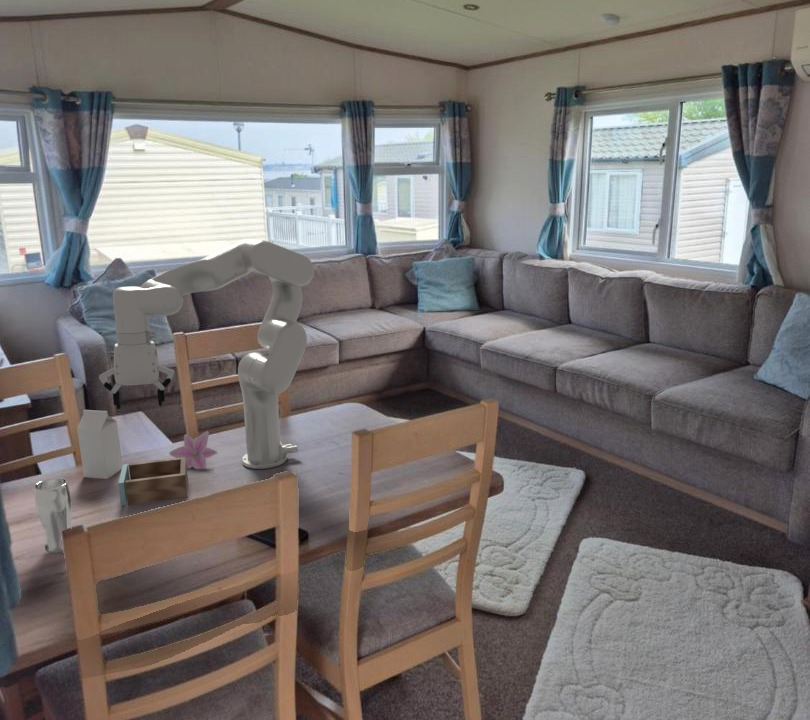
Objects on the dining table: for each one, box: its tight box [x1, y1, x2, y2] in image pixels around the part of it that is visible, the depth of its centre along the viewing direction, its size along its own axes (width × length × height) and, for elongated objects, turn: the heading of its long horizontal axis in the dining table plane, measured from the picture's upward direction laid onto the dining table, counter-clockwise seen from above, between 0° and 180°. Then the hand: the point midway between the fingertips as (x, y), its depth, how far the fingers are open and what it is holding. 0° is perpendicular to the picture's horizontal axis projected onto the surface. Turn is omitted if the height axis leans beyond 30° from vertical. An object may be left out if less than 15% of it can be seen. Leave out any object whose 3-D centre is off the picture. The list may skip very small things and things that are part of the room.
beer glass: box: [33, 477, 73, 554], centre depth 151 cm, size 7×7×15 cm
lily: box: [168, 430, 218, 470], centre depth 193 cm, size 12×12×10 cm
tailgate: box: [117, 463, 130, 507], centre depth 173 cm, size 1×12×6 cm, turn 17°
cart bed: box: [125, 457, 189, 506], centre depth 176 cm, size 14×12×7 cm
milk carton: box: [76, 409, 123, 480], centre depth 186 cm, size 7×7×19 cm
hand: (140, 405), depth 170 cm, fingers open, 9 cm apart
